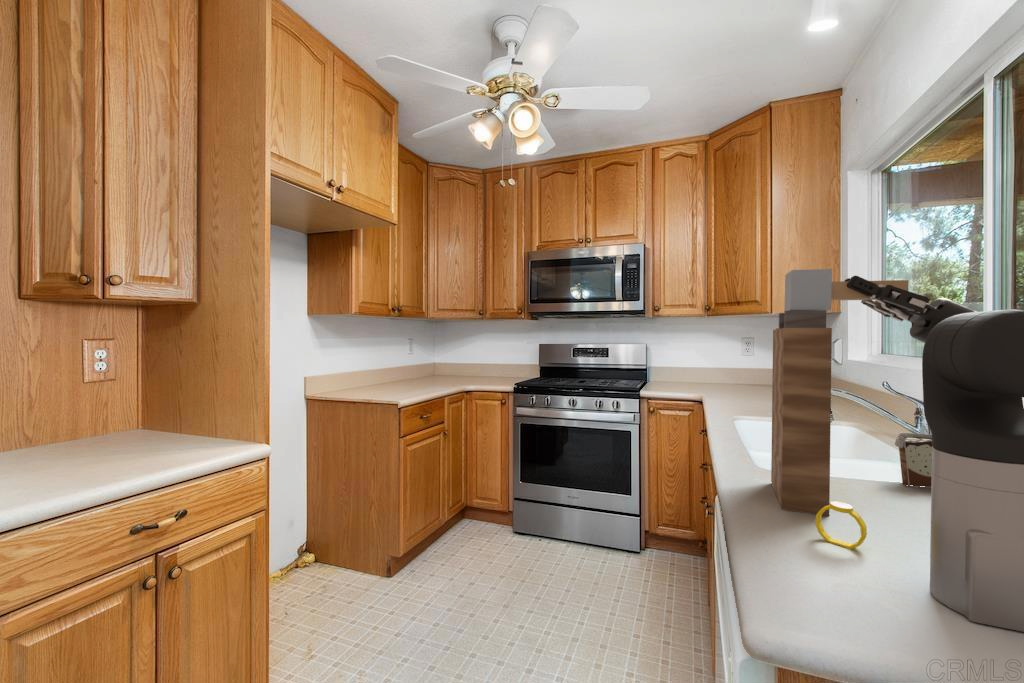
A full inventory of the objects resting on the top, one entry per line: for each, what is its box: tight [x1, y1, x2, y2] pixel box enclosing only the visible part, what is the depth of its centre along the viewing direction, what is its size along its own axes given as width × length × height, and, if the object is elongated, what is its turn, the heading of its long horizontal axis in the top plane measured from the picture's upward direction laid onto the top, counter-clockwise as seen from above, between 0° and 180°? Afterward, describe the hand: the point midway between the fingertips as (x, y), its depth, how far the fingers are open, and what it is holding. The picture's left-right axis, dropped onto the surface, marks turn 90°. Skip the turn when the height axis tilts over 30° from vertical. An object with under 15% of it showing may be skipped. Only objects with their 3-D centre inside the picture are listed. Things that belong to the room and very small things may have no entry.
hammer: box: [783, 268, 910, 313], centre depth 79 cm, size 6×17×7 cm, turn 68°
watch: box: [815, 500, 868, 550], centre depth 66 cm, size 6×3×6 cm, turn 38°
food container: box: [894, 432, 932, 488], centre depth 95 cm, size 12×6×10 cm, turn 84°
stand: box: [770, 310, 833, 517], centre depth 85 cm, size 16×7×35 cm, turn 156°
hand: (846, 282), depth 79 cm, fingers closed on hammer, 3 cm apart
